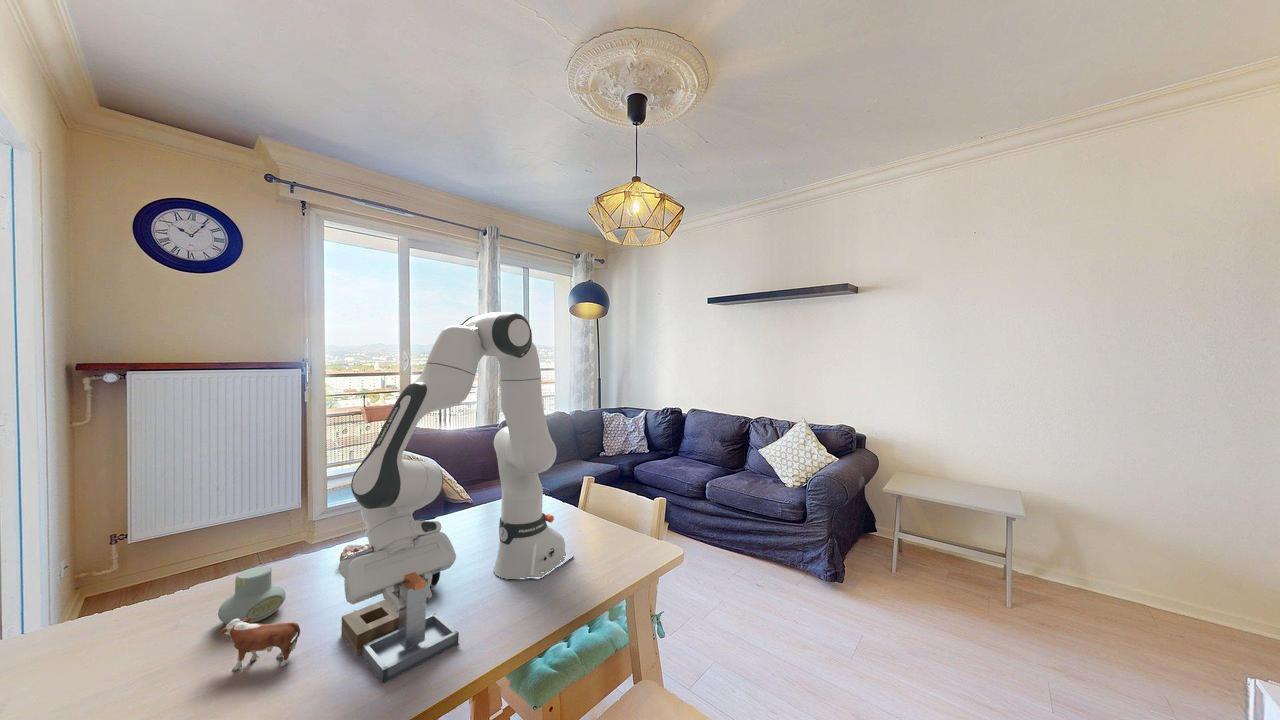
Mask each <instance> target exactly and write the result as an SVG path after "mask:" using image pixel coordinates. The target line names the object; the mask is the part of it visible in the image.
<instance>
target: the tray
mask: <svg viewBox="0 0 1280 720" xmlns="http://www.w3.org/2000/svg"><path fill="white" fill-rule="evenodd" d="M459 634H460V633H459V631H458V630H457V629H456V628H455V627H453V625H451V624H450V623H448V622H447V621H446V620H445V619H444V618H443V617H441V616H440V615H439V614H438V613H436V612H434V613H432V614H430V615H426V620H425V641H423V642H421V643H419V644H417V645H415V646H413V647H411V648H409V649H407V650H405V649H404V648H403V647H402V646H401V645H400V643H399V642H398V630H396V631H394V632H391V633H389V634H387V635H385V636H383V637H380V638H378V639H376V640H374V641H372V642H369V643H367V644H365V645H363V653H362V657H361V658H362V659H363V660H364V662H365V663H366V664H367V666H368V667H369V668H370V670H371V671H372V672H373V673H374V675H375V676H376V677H377V679H378V680H379V681H380V682H381V684H382V685H383V684H385V683H387V682H389V681H391V680H393V679H394V678H395V679H396V678H397V677H399V676H401V675H403V674H404V673H406V672H408V671H410V670H412V669H414V668H416V667H417V666H419V665H422V664H423V663H425V662H427V661H430V660H431V659H433V658H435V657H437V656H438V655H440V654H442V653H444V652H446V651H449V649H452V648H454V647H456V646H457V645H459V641H460V640H459V639H460V638H459V637H460V635H459Z"/></svg>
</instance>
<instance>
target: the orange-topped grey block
mask: <svg viewBox="0 0 1280 720" xmlns="http://www.w3.org/2000/svg"><path fill="white" fill-rule="evenodd" d="M404 578H405V580H404V582H403V583H400V593H399V599H401V598H404V603H405V608H404V609H403V610H401V611H399V622H398V642H399V643H400V645H401V646H402V647H403V648H404V649H405V650H407V649H409V648H411V647H413V646H415V645H417V644H419V643H421V642H423V641H425V620H426V617H427V600H426V591H427V583H426V580H424V579H423V578H422V577H420V576H419V575H418V574H416V573H415V572H413V573H410V574H407V575H404Z"/></svg>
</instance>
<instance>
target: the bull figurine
mask: <svg viewBox="0 0 1280 720" xmlns="http://www.w3.org/2000/svg"><path fill="white" fill-rule="evenodd" d="M250 620H251V618H246V619H244V620H243V621H240V619H234V620H232V621H231V622H230V623H229V624H226V625H225V627H224V628H222V629H221V630H220V635H221V634H222V635H223V634H224V635H229V637H230V639H231V641H232V643H233V644H234V645H233V647H234V648H235V649H236V650H237V651H238V656H237V659H236V661H237V663H236V664H235V665H234V667H233V668H232V670H231V671H233V672H237V671H238V670H239V669H240V668H242V667H243V664H242V663H243V661H244V659H245V658H246V657H245V656H246V654H247V653H251V658H250V659H249V661H250V662H254V661H255V660H257V659H258V658H259V654H258V653H257V652H264V651H267V652H268V653H269V652H271V651H272V649H274V647H275V648H278V649H280V651H281V652H279V654H278V655H276V658H277V659H281V658H282V657H283V659H282V661H281V662H280V664H279V665H278V666H279V668H282V667H284V666H285V665H286V664H288V662H289V659H290V658H289V657H290V654H291V653H292V652H293V651H294V649H296V645H297V643H298V638H299V637H300V635H301V628H300V625H299V623H298V622H278V623H264V624H263V623H259V622H256V623H252V624H249V623H248V622H249V621H250Z"/></svg>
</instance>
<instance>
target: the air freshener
mask: <svg viewBox="0 0 1280 720" xmlns="http://www.w3.org/2000/svg"><path fill="white" fill-rule="evenodd" d="M234 586H235V587H234V593H233V594H231V595H230V596H229V597H228V598H226V599H225V600H224V601H223V602H222V604H221V605H220V606H219V608H218V612H217V616H218V618H219V620H220V621H221V622H222V624H225V625H227V624H229V623H230V622H231V621H232V620H234V619H240V621H243V620H244V619H246V618H251V620H250V621H249V622H248V623H249V624H256V623H259V622H262V621H264V620H265V619H266V618H268V617H269V616H271V615H273V614H274V613H275V612H276V611H278V610H279V609H280V608H281V607H282V605H283V604H284V602H285V599H286V590H285V589H284V588H283V587H281V585H279V584H276V583H275V584H274V583H272V567H269V566H267V565H262V566H261V565H260V566H255V567H251V568H248V569H247V568H246V569H245V570H242V571H241V572H240V573H238V574H237V575H236V576H235V585H234Z"/></svg>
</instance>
